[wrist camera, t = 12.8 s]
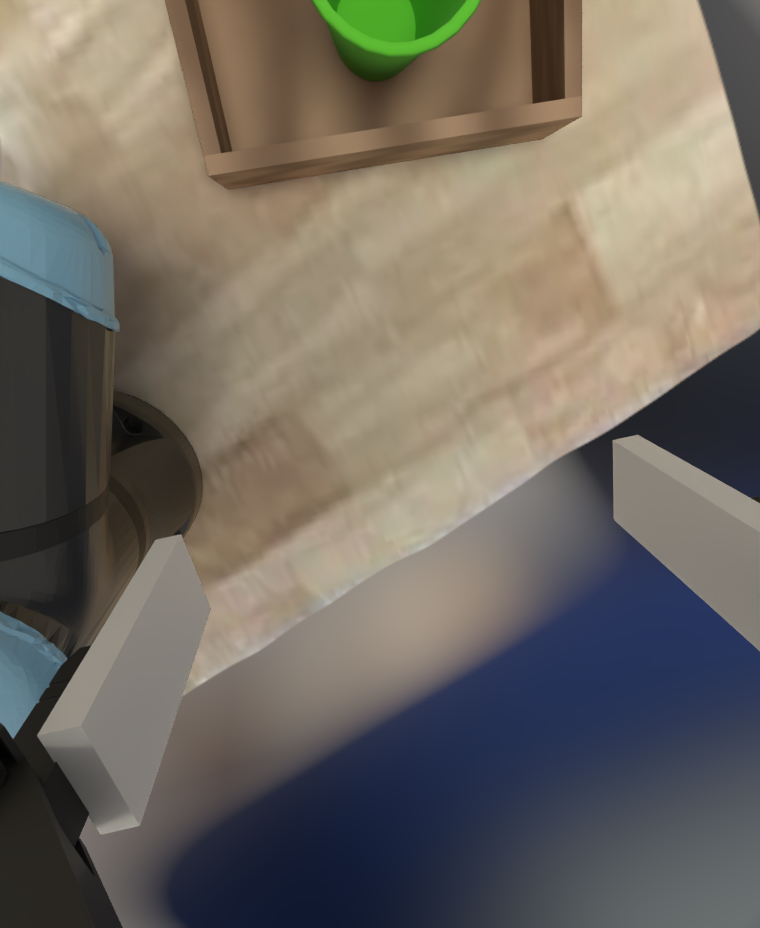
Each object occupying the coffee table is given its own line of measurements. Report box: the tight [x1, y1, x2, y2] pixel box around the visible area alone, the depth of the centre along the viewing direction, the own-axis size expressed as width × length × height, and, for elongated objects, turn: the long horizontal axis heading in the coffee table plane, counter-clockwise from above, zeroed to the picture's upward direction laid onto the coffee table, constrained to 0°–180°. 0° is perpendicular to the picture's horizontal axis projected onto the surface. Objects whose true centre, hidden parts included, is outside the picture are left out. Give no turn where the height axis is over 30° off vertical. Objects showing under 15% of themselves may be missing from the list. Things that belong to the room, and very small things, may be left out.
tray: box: [165, 0, 582, 189], centre depth 29 cm, size 22×14×6 cm, turn 99°
